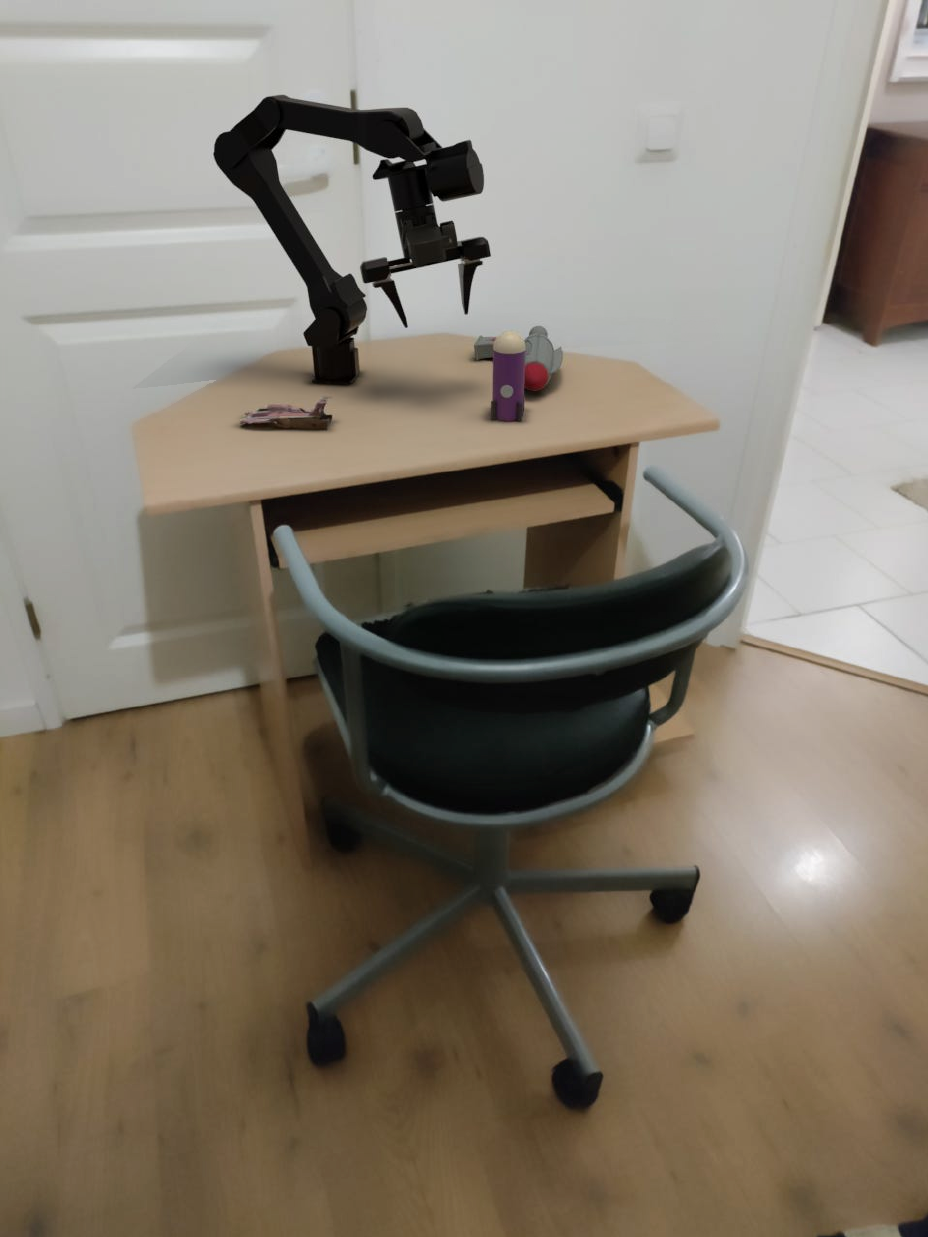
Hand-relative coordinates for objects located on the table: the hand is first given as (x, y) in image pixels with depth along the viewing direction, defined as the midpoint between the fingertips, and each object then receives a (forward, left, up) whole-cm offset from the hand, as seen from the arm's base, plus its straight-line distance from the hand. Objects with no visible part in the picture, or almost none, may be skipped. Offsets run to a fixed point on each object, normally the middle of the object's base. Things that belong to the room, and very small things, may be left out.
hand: (436, 320), depth 134 cm
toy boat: (-20, -15, -12) cm, 27 cm away
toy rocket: (+12, -7, -11) cm, 18 cm away
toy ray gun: (+11, +11, -12) cm, 20 cm away
